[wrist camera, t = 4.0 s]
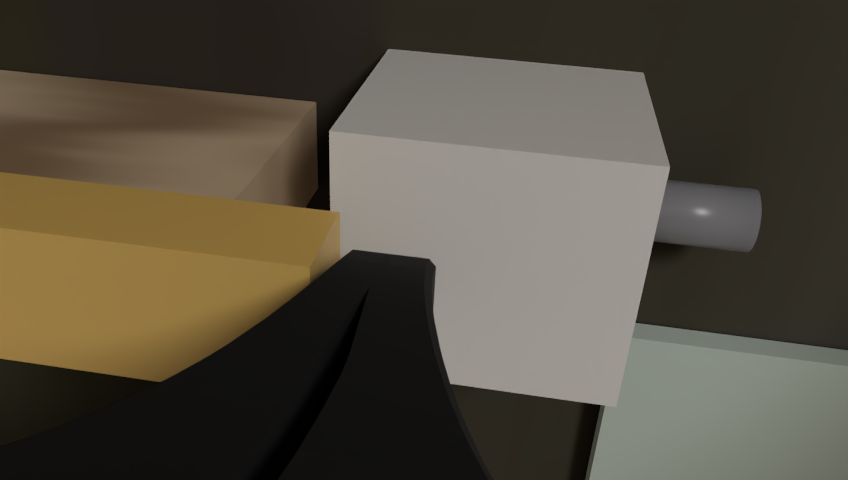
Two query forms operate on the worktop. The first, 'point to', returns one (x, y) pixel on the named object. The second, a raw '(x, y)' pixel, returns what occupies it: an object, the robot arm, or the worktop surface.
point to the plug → (523, 210)
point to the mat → (724, 410)
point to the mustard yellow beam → (145, 272)
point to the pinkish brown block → (159, 138)
